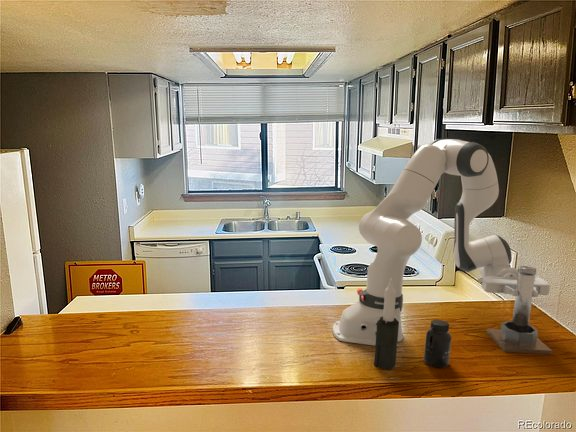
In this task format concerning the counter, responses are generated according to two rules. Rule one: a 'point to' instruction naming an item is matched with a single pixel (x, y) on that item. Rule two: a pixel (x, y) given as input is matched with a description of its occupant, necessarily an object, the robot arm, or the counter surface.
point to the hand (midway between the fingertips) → (525, 294)
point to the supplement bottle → (437, 344)
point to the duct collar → (518, 339)
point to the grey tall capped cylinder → (524, 295)
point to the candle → (387, 332)
